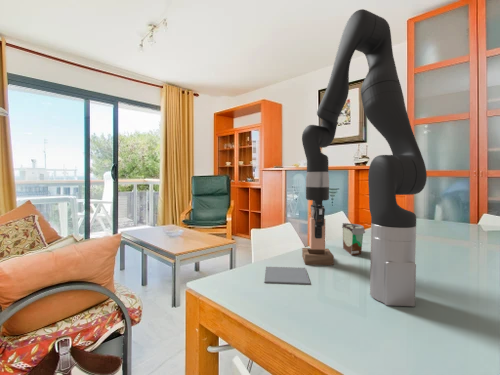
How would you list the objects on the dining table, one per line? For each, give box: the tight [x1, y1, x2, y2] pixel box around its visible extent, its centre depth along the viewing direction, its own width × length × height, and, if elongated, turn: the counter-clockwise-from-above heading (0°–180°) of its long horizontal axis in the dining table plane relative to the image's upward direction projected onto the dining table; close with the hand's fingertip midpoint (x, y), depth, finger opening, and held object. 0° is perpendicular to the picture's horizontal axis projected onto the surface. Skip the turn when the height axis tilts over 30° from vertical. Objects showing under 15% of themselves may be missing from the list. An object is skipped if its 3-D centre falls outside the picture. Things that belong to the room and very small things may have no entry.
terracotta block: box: [308, 216, 326, 250], centre depth 91 cm, size 4×4×10 cm
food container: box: [341, 222, 366, 257], centre depth 102 cm, size 12×6×10 cm, turn 179°
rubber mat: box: [264, 266, 311, 285], centre depth 77 cm, size 12×12×1 cm
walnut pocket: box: [301, 247, 335, 266], centre depth 91 cm, size 9×9×3 cm
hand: (317, 236), depth 91 cm, fingers closed on terracotta block, 4 cm apart
